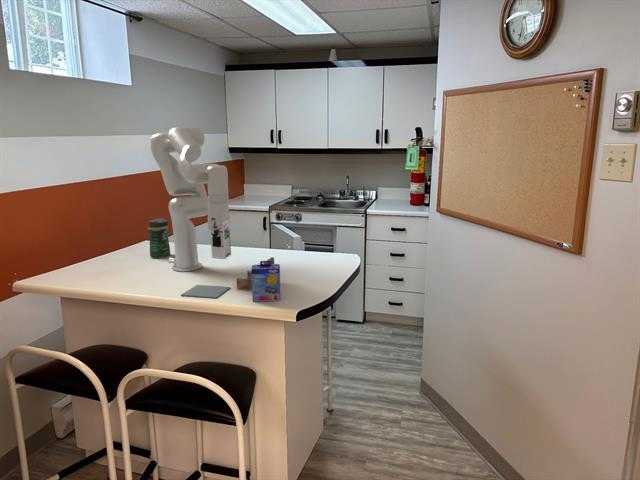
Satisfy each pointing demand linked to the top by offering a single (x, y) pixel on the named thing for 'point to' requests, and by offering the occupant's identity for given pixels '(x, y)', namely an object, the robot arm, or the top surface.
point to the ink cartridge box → (266, 282)
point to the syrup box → (222, 242)
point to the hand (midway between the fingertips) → (220, 244)
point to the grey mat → (206, 291)
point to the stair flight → (249, 279)
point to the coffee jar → (158, 238)
